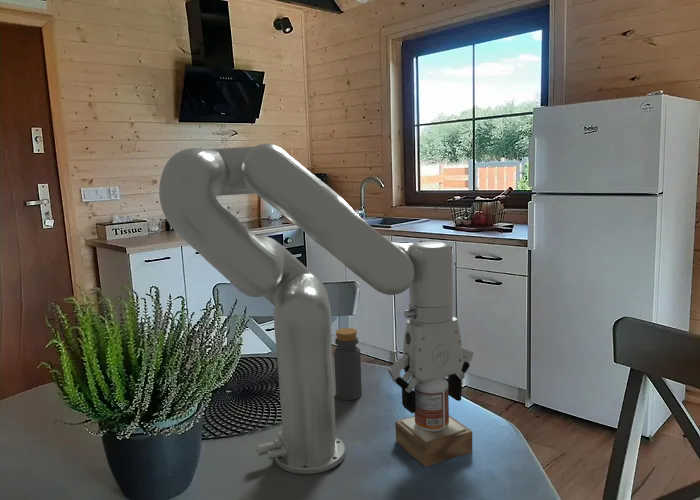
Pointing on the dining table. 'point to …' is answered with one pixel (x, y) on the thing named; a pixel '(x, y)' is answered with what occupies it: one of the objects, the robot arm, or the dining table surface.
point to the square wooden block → (433, 441)
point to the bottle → (347, 365)
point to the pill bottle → (432, 404)
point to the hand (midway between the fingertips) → (432, 403)
